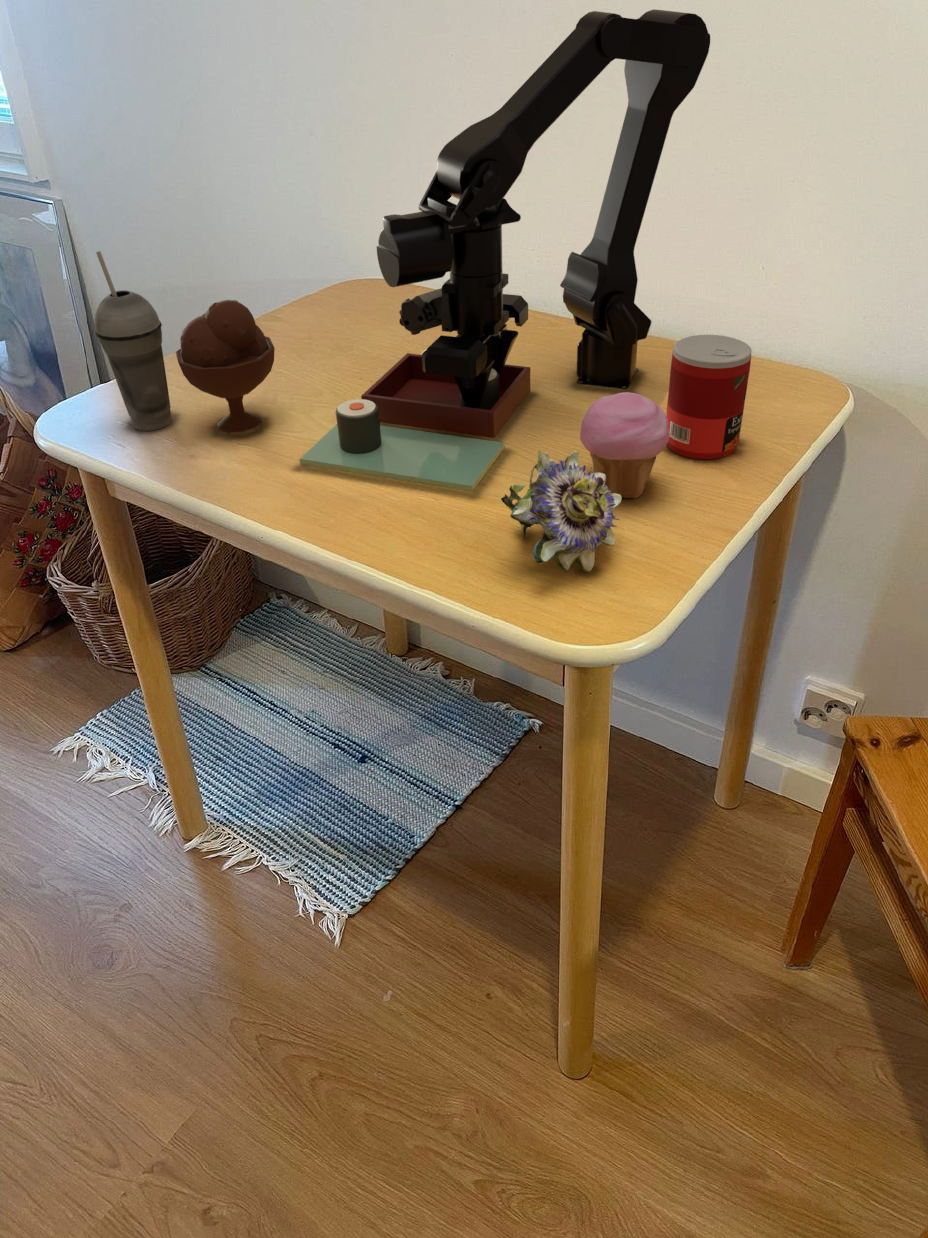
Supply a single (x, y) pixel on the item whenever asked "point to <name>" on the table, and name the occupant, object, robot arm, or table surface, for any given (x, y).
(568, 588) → the table surface
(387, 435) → the plate
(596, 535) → the passion flower
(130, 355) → the beverage cup
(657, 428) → the cupcake
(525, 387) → the sushi box
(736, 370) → the canned food
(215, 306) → the ice cream bowl
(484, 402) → the cylinder
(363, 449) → the cylinder
